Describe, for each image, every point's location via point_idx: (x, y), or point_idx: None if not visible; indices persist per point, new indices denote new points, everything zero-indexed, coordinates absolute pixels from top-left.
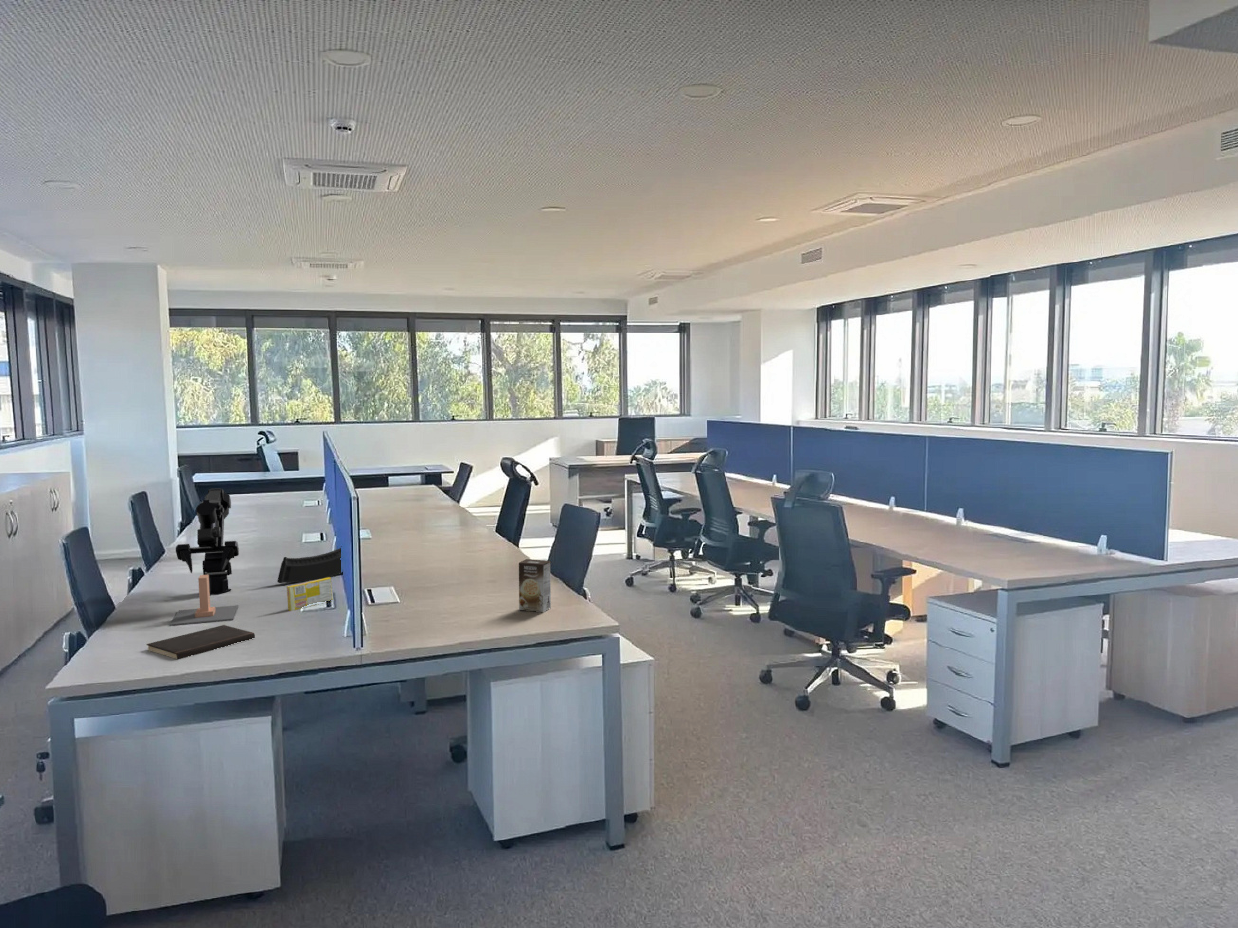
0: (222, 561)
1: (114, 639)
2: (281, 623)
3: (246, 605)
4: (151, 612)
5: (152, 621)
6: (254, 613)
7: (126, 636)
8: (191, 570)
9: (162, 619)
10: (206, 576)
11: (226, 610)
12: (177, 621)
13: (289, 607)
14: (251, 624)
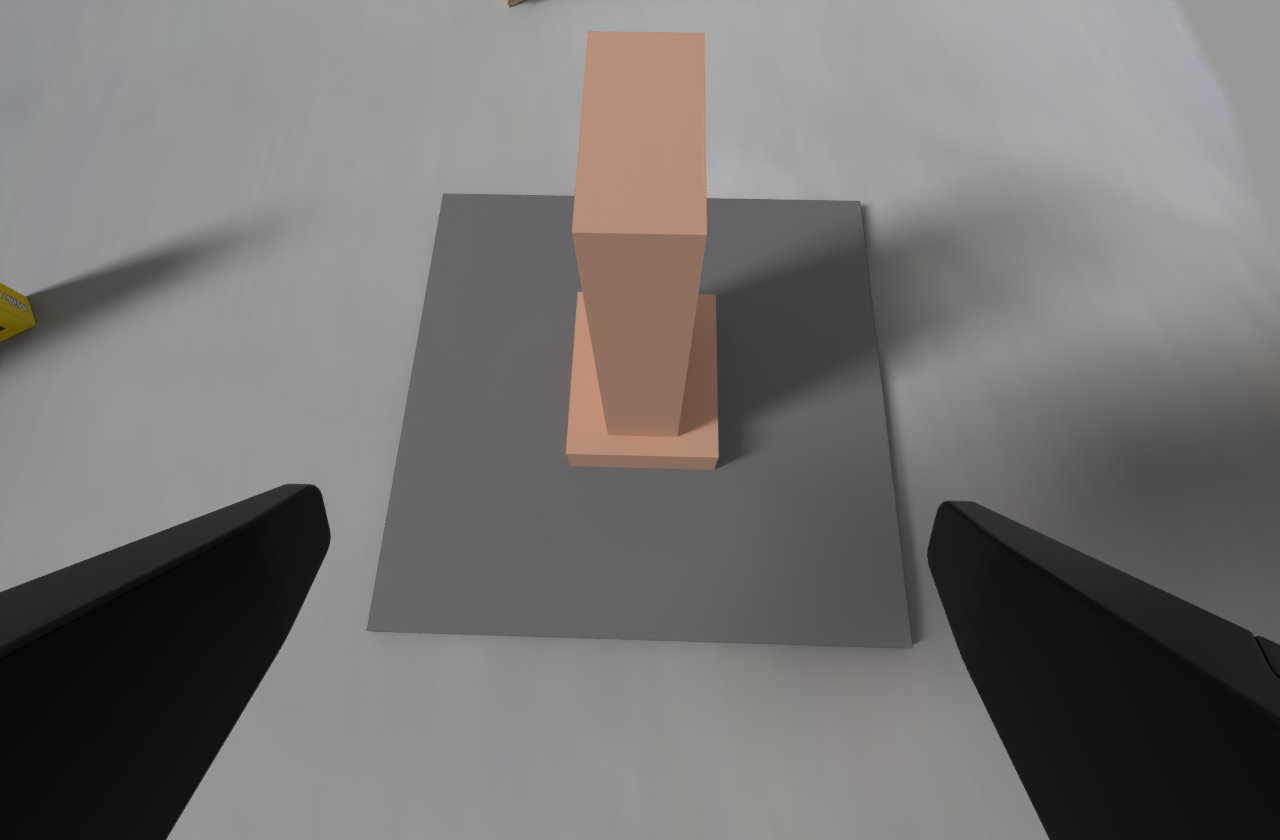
0: (135, 570)
1: (1103, 44)
2: (186, 35)
3: (298, 652)
4: None
5: (1032, 377)
6: (285, 324)
7: (1057, 76)
8: (952, 504)
9: (971, 411)
10: (596, 106)
11: (481, 456)
12: (823, 254)
13: (7, 295)
14: (349, 71)
